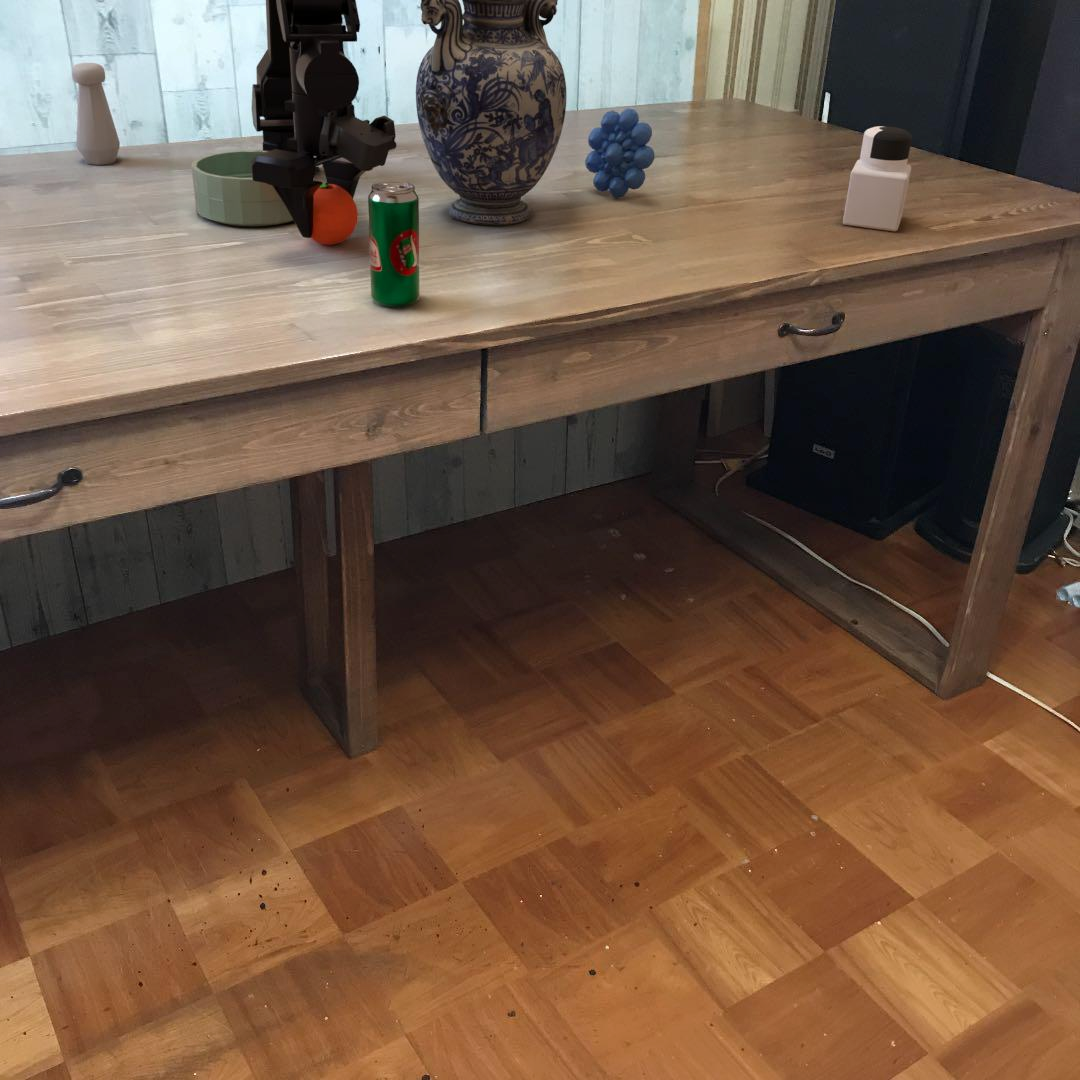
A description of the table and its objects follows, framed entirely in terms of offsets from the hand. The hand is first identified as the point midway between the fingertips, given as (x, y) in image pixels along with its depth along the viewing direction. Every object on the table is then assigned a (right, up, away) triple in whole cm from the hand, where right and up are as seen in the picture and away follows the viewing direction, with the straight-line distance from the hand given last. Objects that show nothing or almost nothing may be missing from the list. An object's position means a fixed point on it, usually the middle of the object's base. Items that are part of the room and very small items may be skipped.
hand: (324, 229), depth 143 cm
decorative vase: (+19, +5, +14) cm, 24 cm away
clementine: (0, -1, +1) cm, 2 cm away
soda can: (+10, -12, -15) cm, 22 cm away
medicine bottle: (+70, +6, +18) cm, 72 cm away
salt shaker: (-37, +17, +28) cm, 49 cm away
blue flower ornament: (+37, +11, +24) cm, 45 cm away
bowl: (-11, +5, +10) cm, 16 cm away
